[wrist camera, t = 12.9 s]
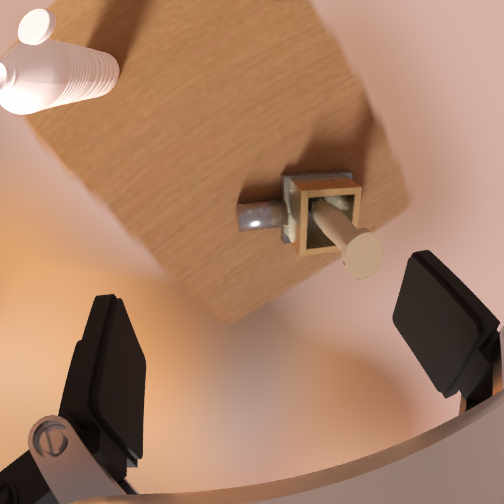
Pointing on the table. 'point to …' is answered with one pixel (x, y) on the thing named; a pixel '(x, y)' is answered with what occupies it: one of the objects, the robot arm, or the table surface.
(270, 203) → the socket
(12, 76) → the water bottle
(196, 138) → the table surface
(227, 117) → the table surface
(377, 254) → the handle
